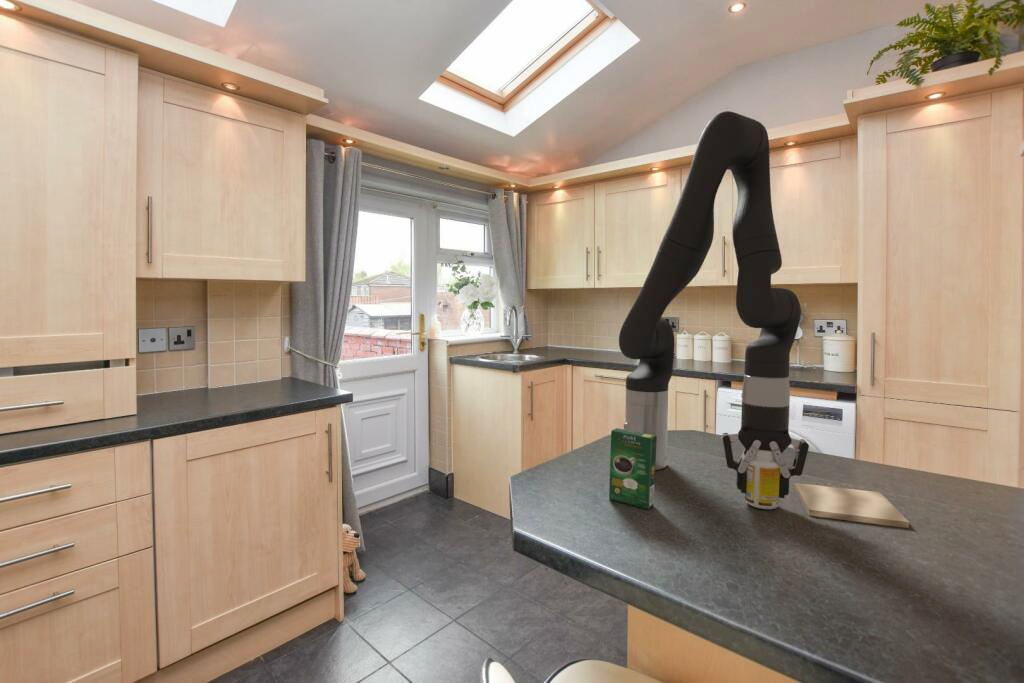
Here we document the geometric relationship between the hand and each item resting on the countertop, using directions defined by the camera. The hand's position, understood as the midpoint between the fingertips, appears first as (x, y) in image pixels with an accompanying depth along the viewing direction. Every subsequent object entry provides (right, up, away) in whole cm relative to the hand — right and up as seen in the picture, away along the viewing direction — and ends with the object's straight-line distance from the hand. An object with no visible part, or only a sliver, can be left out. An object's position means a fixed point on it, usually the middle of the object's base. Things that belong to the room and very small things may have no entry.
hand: (761, 493), depth 89 cm
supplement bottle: (0, -2, 0) cm, 2 cm away
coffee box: (-23, -2, +1) cm, 23 cm away
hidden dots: (0, -2, 0) cm, 2 cm away
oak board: (+15, -2, 0) cm, 15 cm away
